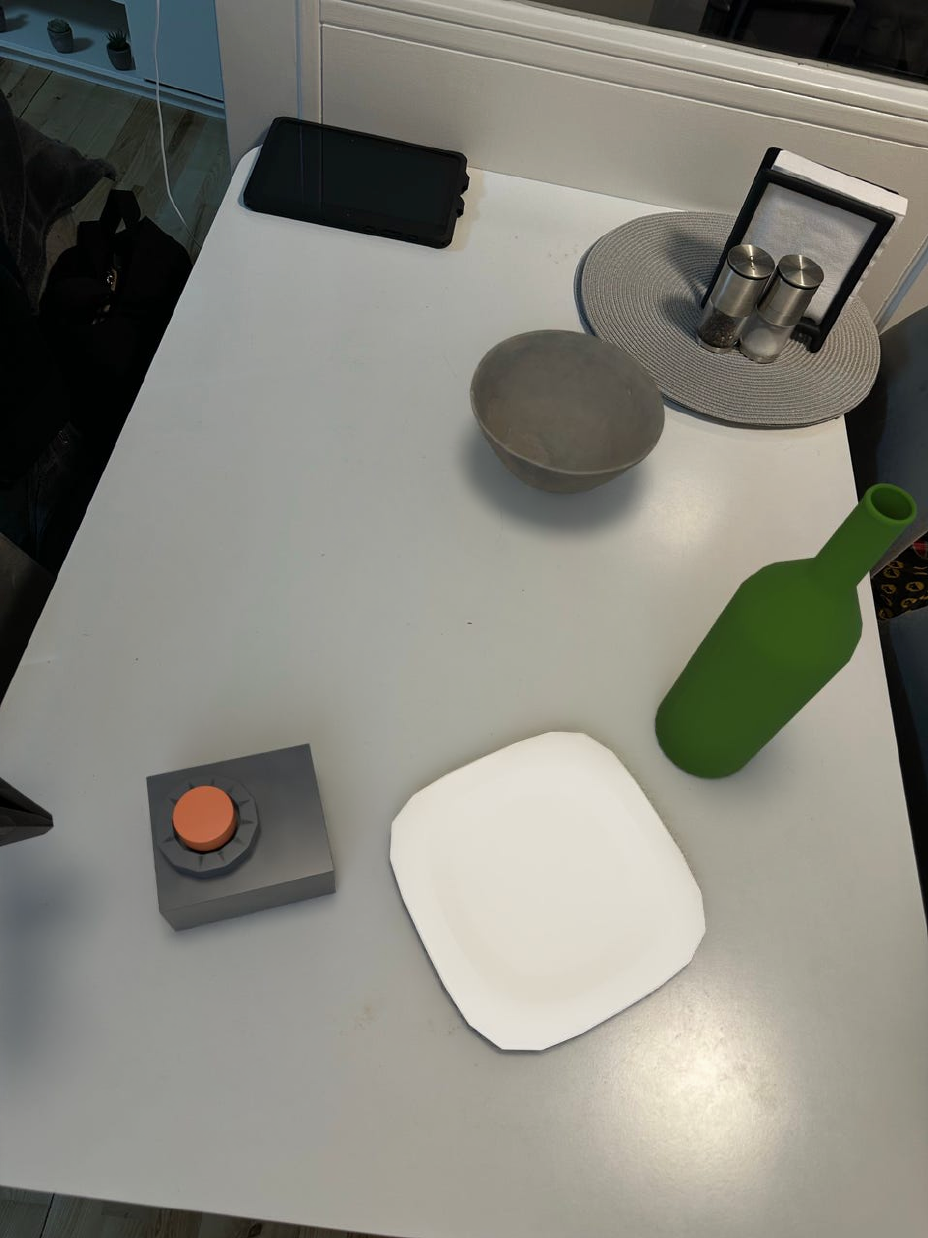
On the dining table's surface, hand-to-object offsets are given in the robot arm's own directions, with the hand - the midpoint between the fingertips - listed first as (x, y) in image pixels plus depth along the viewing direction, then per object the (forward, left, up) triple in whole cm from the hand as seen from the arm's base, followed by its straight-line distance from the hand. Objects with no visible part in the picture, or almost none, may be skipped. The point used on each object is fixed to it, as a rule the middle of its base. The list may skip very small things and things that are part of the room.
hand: (49, 825), depth 55 cm
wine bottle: (+51, +1, -14) cm, 53 cm away
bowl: (+47, +33, -14) cm, 59 cm away
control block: (+11, 0, -14) cm, 17 cm away
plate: (+33, -8, -14) cm, 36 cm away
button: (+9, 0, -6) cm, 11 cm away
